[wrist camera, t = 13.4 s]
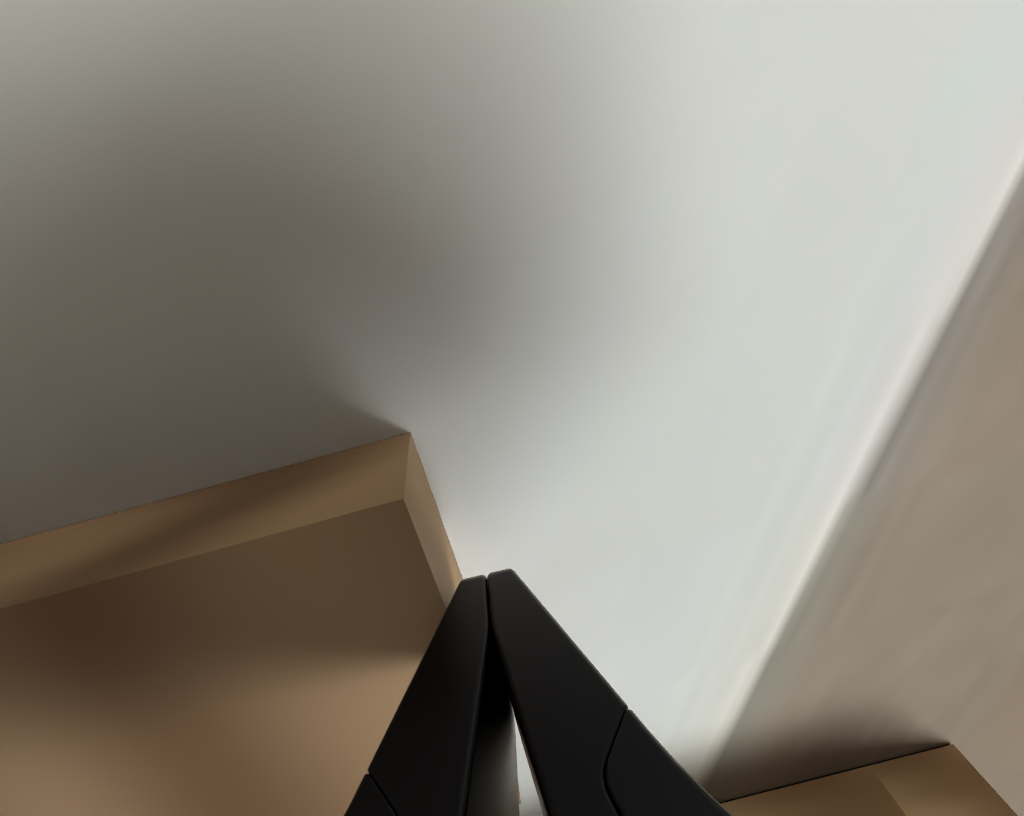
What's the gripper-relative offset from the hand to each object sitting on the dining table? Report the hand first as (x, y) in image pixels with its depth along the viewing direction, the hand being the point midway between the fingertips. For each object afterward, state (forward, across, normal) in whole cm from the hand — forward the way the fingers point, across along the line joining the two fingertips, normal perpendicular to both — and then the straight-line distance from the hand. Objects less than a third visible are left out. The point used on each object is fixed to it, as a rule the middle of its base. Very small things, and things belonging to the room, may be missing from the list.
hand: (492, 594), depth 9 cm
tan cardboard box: (+2, +5, +1) cm, 5 cm away
